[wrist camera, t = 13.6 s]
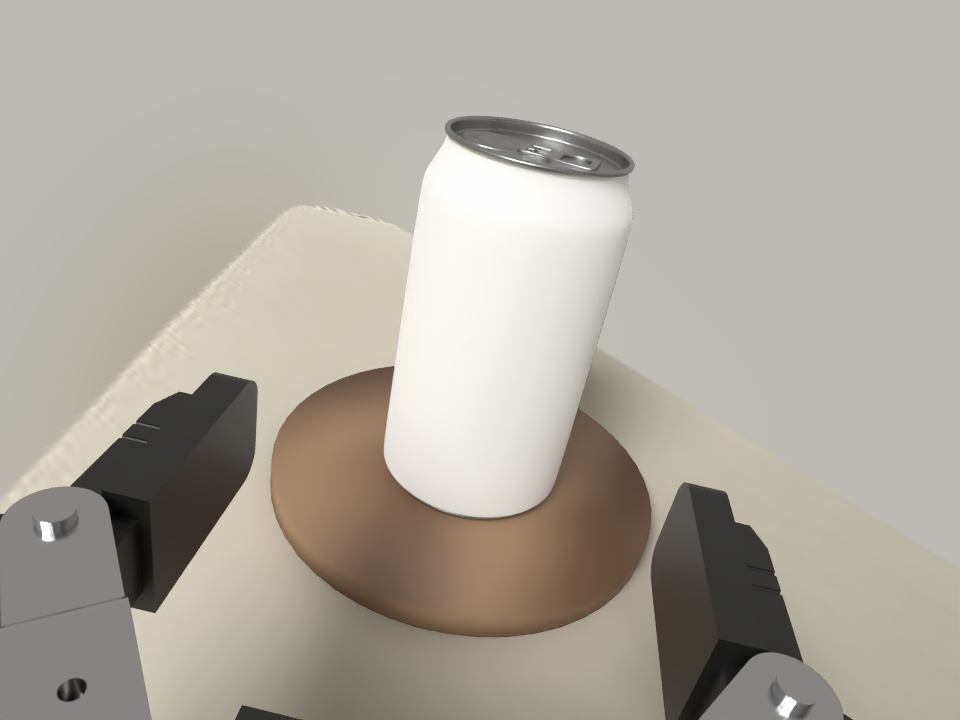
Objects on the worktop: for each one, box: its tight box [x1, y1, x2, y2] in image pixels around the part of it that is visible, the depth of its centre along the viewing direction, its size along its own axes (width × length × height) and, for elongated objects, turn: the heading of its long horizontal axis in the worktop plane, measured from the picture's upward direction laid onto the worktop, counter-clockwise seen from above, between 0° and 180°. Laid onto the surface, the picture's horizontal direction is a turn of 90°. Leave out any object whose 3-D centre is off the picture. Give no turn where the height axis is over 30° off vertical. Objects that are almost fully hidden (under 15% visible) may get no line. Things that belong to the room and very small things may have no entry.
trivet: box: [271, 366, 651, 637], centre depth 27 cm, size 14×14×1 cm
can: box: [384, 116, 634, 520], centre depth 24 cm, size 6×6×12 cm
